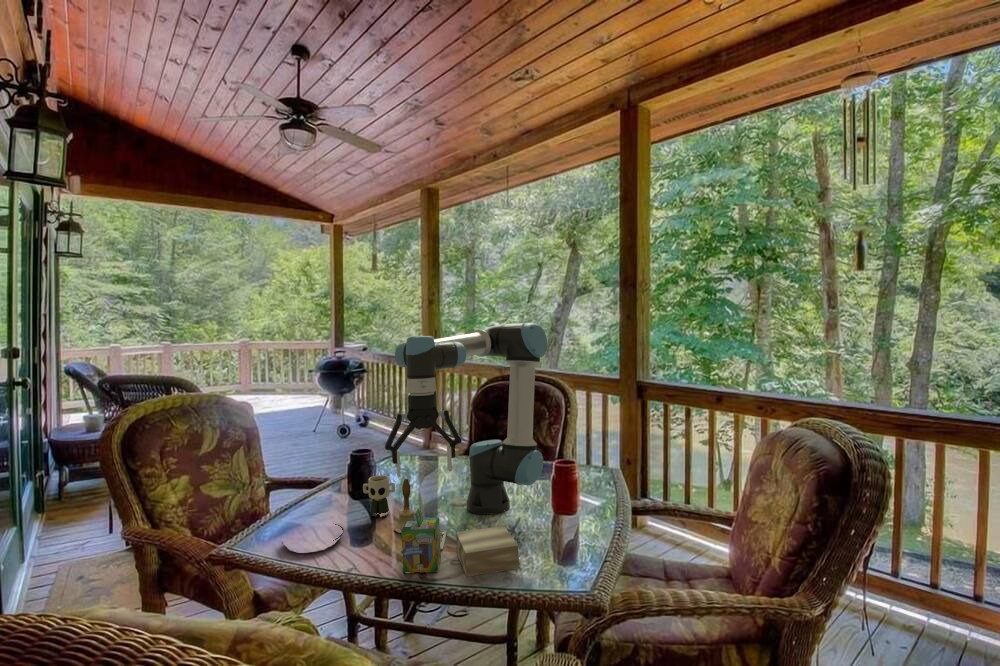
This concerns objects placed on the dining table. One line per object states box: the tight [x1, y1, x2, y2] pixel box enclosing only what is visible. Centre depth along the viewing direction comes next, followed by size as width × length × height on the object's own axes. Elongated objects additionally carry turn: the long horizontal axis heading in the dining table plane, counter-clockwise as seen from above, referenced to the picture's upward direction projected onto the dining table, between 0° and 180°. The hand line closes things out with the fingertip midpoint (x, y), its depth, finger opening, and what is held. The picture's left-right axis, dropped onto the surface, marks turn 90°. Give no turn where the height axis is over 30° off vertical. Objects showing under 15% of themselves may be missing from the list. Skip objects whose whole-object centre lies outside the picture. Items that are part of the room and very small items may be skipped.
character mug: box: [362, 475, 396, 514], centre depth 174 cm, size 11×7×13 cm, turn 90°
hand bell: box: [395, 478, 416, 530], centre depth 162 cm, size 8×8×16 cm
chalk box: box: [400, 508, 442, 574], centre depth 136 cm, size 9×9×15 cm
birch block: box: [455, 525, 520, 578], centre depth 138 cm, size 14×14×6 cm
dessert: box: [440, 531, 447, 550], centre depth 151 cm, size 12×12×5 cm
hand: (424, 472), depth 136 cm, fingers open, 13 cm apart
